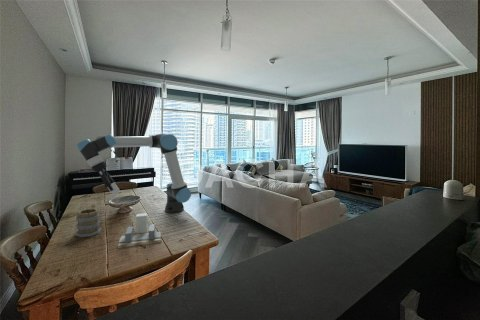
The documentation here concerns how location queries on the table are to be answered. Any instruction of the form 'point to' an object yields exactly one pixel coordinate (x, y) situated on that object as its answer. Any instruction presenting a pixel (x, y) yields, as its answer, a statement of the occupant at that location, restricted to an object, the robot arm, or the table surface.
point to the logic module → (141, 223)
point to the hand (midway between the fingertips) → (116, 193)
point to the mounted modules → (130, 233)
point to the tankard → (88, 222)
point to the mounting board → (140, 240)
